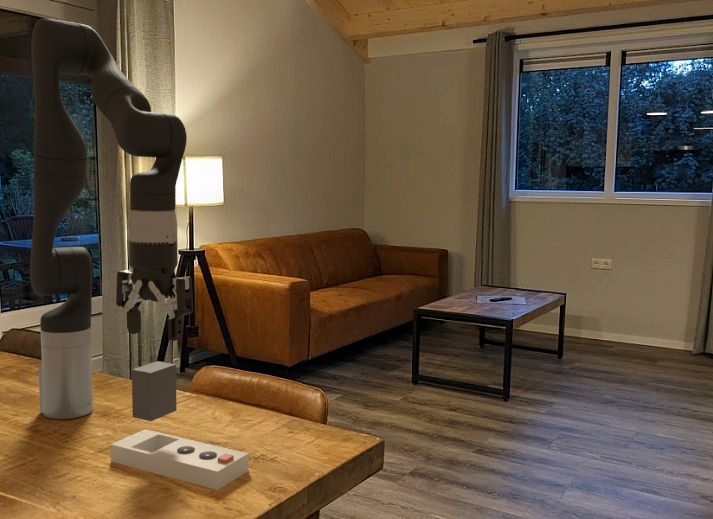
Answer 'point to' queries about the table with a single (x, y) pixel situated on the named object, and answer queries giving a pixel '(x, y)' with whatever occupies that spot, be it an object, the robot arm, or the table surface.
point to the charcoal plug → (154, 390)
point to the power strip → (180, 458)
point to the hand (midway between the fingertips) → (154, 336)
